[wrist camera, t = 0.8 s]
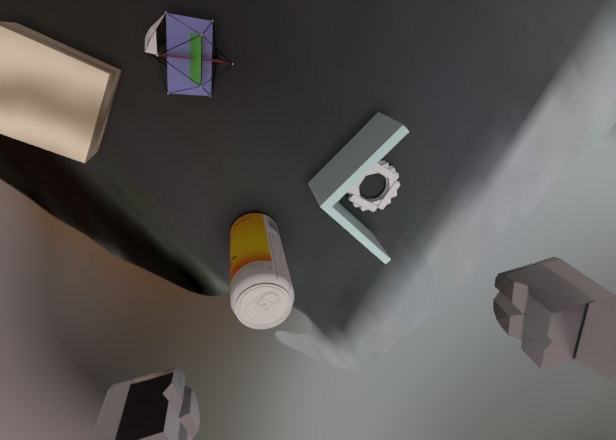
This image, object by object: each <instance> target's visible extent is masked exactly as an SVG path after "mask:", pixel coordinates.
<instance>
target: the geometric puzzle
mask: <svg viewBox="0 0 616 440" xmlns="http://www.w3.org/2000/svg"><path fill="white" fill-rule="evenodd" d="M164 15H165V17H166V34H167V39H166V40H167V51H164V52H162V53H158V52H157V46H158V45H159V46H160V44H161V43H163V42H164V41H166V40H164V41H163V42H161V38H160V42H161V43H159V44H158V45H157V39H156V33H157V32H156V28H157V27H158V25H159V23H160V22H161V20H162V18H163V17H164ZM164 15H163V16H162V17H161V18H160V19H159V20H158V21H157V22H156V23H155V24H154V25H153V26H151V27H150V29H149V31H148V32H147V35H146V38H145V52H146V53H148V54H149V53H150V54H151V55H152V54H154V55H156V56H157V57H160V56H167V61H165V60H164V59H163V58H161V57H160V58H161V59H162V60H164V61H165V62H167V65H166V64H164V63H163V62H162V61H160V60H159V58H156V57H155V56H154V55H152V56H154V57H155V58H156V59H158V60H159V64H160V62H162V63H163V64H164V65H166V66H167V75H168V90H166V91H167V94H182V95H199V96H210V97H211V96H212V95H211V94H212V89H213V83H214V77H215V72H214V77H213V78H211V75H212V62H216V65H217V62H221V63H229V64H231V65H233V63H232V62H230V61H229V60H228V59H227V58H226V57H225V56H224V55H223V54H222V53H221V52H220V51H219V50H218V49H217V48H216V42H215V46H214V45H213V44H212V33H213V32H214V25H213V23H214V22H213V20H212V21H211V20H205V19H199V18H193V17H188V16H182V15H176V14H171V13H167V12H165V14H164ZM164 22H165V19H164ZM160 25H161V24H160ZM159 27H160V26H159ZM163 27H164V24H163ZM158 29H159V28H158ZM216 30H217V29H216ZM157 31H158V30H157ZM162 32H163V29H162ZM217 32H218V31H217ZM218 34H219V33H218ZM219 36H220V35H219ZM161 37H162V33H161ZM214 41H215V33H214ZM222 43H223V42H222ZM223 45H224V44H223ZM212 46H214V47H215V49H217V50H218V51H219V52H220V53H221V54H222V55H223V56H224V57H225V58H226V59H227V60H228V61H229V62H227V61H223V60H219V59H217V51H216V58H215V57H214V56H213V55H212ZM224 47H225V46H224ZM225 49H226V48H225ZM158 51H159V48H158ZM165 52H167V53H165ZM158 55H159V56H158ZM149 56H150V55H149ZM228 56H229V55H228ZM212 57H214V58H215V59H212ZM150 58H151V57H150ZM229 58H230V57H229ZM230 60H231V59H230ZM231 65H229V66H231ZM229 66H228V67H229ZM160 67H161V65H160ZM228 67H227V68H228ZM227 68H225V69H227ZM225 69H224V70H225ZM224 70H222V71H224ZM161 71H162V69H161ZM215 71H216V66H215ZM222 71H221V72H222ZM221 72H220V73H221ZM220 73H218V74H220ZM162 74H163V72H162ZM218 74H217V75H218ZM217 75H216V76H217ZM163 78H164V76H163ZM160 79H161V78H160ZM211 79H213V83H212V89H211ZM161 81H162V80H161ZM221 81H222V80H221ZM164 82H165V79H164ZM162 83H163V82H162ZM219 84H220V83H219ZM163 85H164V84H163ZM165 85H166V83H165ZM164 87H165V86H164ZM217 87H218V86H217ZM165 89H167V87H166V88H165ZM215 90H216V89H215ZM213 93H214V92H213Z"/></svg>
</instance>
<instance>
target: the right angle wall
mask: <svg viewBox="0 0 616 440" xmlns="http://www.w3.org/2000/svg"><path fill="white" fill-rule="evenodd" d="M407 133H409V131H408V130H407V129H406V127H405V126H404V125H403V124H401V123H399V122H397V121H395V120H393V119H391V118H389V117H388V116H386V115H384V114H382V113H380V112H378V113H377V114H376V115H375V116H374V117H373V118H372V119H371V120H370V121H369V122H368V123H367V124H366V125H365V126H364V127H363V128H362V129H361V130H360V131H359V132H358V133H357V134H356V135H355V136H354V137H353V138H352V139H351V140H350V141H349V142H348V143H347V144H346V145H345V146H344V147H343V148H342V149H341V150H340V151H339V152H338V153H337V154H336V155H335V156H334V157H333V158H332V159H331V160H330V161H329V162H328V163H327V164H326V165H325V166H324V167H323V168H322V169H321V170H320V171H319V172H318V173H317V174H316V175H315V176H314V177H313V178H312V180H311V181H310V182H309V183H308V185H309V187H310V189H311V191H312V193H313V194H314V196H315V198H316V200H317V202H318V204H319V206H320V207H321V208H322V209H323V210H324V211H325V212H327V213H328V214H329V215H330V216H331V217H332V218H333V219H335V220H336V221H337V222H338V223H339V224H340V225H341V226H343V227H344V228H345V229H346V230H347V231H348V232H349V233H351V234H352V235H353V236H354V237H355V238H356V239H357V240H359V241H360V242H361V243H362V244H363V245H364V246H365V247H367V248H368V249H369V250H370V251H371V252H372V253H373V254H375V255H376V256H377V257H378V258H379V259H380V260H381V261H383V262H384V263H385V264H387V263H388V262H389V261H390V260H391V259H390V257H389V256H388V255H387V253H386V252H385V250H384V249H383V248H382V246H381V245H380V243H379V242H378V241H377V239H376V238H375V236H374V235H373V234H372V232H371V231H370V230H368V229H367V228H366V227H365V226H364V225H363V224H362V223H361V222H360V221H359V220H358V219H356V218H355V217H354V216H353V215H352V214H351V213H350V212H349V211H348V210H347V209H346V208H344V207H343V206H342V205H341V204H340V203H339V202H338V200H340V199H341V198H342V197H343V196H344V195H345V194H346V193H348V194H349V197H348V199H349V201H350V202H353V205H354V207H360V209H361V210H362V211H365V210H370V211H372V212H374V211H375V210H376V209H377V207H378V208H380V209H382V210H383V209H384V208H385V206H386V205H387V204H390V203H391V198H392V197H396V196H397V189H398V188H399V186H400V182H399V181H397V179H398V178H399V173H397V172H396V171H395V168H393V166H389V163H386V162H385V160H383V161H381V159H382V158H383V157H384V156H385V155H386V154H387V153H388V152H389V151H390V150H391V149H392V148H393V147H394V146H395V145H396V144H397V143H398V142H399V141H400V140H401V139H402V138H403V137H404V136H405V135H406V134H407ZM375 173H380V174H381V175H383V176H384V177H385V178H386V186H385V190H384V192H383V193H382V194H381V195H380V196H378V197H377V198H369V199H366V198H364V197H362V196H361V195H360V192H359V186H360V184H361V182H362V181H363V179H364V178H365V176H367V175H371V174H375Z"/></svg>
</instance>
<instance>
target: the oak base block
mask: <svg viewBox="0 0 616 440" xmlns="http://www.w3.org/2000/svg"><path fill="white" fill-rule="evenodd" d="M121 71H122V70H120V69H118V68H116V67H114V66H111V65H109V64H107V63H105V62H103V61H100V60H98V59H96V58H94V57H91V56H89V55H87V54H85V53H83V52H80V51H78V50H76V49H74V48H71V47H69V46H67V45H65V44H63V43H60V42H58V41H56V40H54V39H51V38H49V37H47V36H45V35H43V34H40V33H38V32H36V31H34V30H31V29H29V28H27V27H25V26H23V25H20V24H18V23H13V22H0V134H3V135H6V136H8V137H11V138H14V139H17V140H20V141H23V142H26V143H28V144H31V145H34V146H37V147H40V148H43V149H46V150H48V151H51V152H54V153H57V154H60V155H63V156H66V157H68V158H71V159H74V160H77V161H80V162H83V163H86V162H87V161H88V160H89V159H90V158H91V157H92V156H93V155H95V154H96V153H97V152H98V151H99V147H100V144H101V140H102V137H103V133H104V130H105V126H106V123H107V119H108V116H109V112H110V109H111V105H112V102H113V98H114V95H115V91H116V88H117V84H118V81H119V78H120V74H121Z"/></svg>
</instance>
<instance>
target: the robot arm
mask: <svg viewBox="0 0 616 440" xmlns="http://www.w3.org/2000/svg"><path fill="white" fill-rule="evenodd" d="M495 287H496V288H497V289H498V290H499V293H498V294H497V295H496V297H495V298H494V302H493V310H494V313H495V316H496V319H497V321H498V323H499V324H500V326H501V327H502V328H503V329H504V331H505V332H506V333H507V334H508V335H510V336H512V337H515V338H517V339H520V344H521V349H522V350H523V351H524V352H525V353H526V354H527V355H528V356H529V357H530V358H531V360H532V361H533V362H534V363H535V364H536V365H537V366H538V367H539V368H540V369H545V368H549V367H552V366H555V365H559V364H563V363H566V362H570V361H573V360H575V363H577V364H579V365H581V366H583V367H585V368H587V369H589V370H591V371H593V372H595V373H597V374H599V375H601V376H603V377H605V378H607V379H609V380H611V381H613V382H615V383H616V295H614V294H613V293H611V292H610V291H608V290H607V289H605V288H604V287H602V286H601V285H599V284H598V283H596V282H595V281H593V280H592V279H590V278H589V277H587V276H586V275H584V274H583V273H581V272H580V271H578V270H576V269H575V268H574V267H572V266H571V265H569V264H568V263H566V262H565V261H563V260H562V259H559V258H556V257H552V258H549V259H545V260H542V261H539V262H536V263H534V264H529V265H525V266H522V267H519V268H516V269H512V270H509V271H506V272H503V273H499V274H498V275H497V277H496V279H495ZM199 419H200V417H199V408H198V402H197V399H196V396H195V394H194V392H193V390H192V389H191V388H188V387H186V386H185V375H184V374H183V372H182V371H181V369H180V368H173V369H170V370H166V371H162V372H159V373H155V374H151V375H147V376H143V377H139V378H136V379H134V380H130V381H126V382H122V383H118V384H115V385H113V386H112V387H111V388H110V389H109V390H108V392H107V395H106V398H105V401H104V404H103V407H102V410H101V413H100V415H99V418H98V421H97V424H96V427H95V430H94V433H93V436H92V439H91V440H193V438H194V437H195V435H196V433H197V432H198V430H199Z"/></svg>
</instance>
